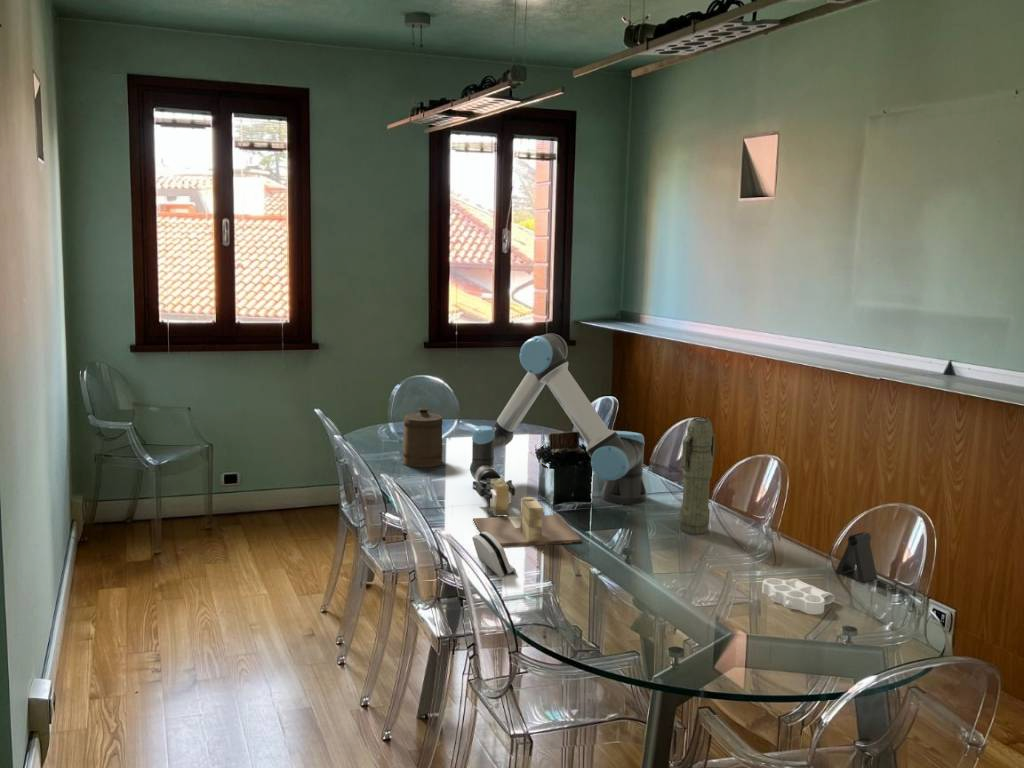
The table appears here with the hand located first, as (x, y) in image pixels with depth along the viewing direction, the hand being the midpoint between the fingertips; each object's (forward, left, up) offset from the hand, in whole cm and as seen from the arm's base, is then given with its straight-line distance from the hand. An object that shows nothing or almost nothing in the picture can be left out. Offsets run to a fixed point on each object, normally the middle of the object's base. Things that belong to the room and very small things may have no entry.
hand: (502, 499), depth 305 cm
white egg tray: (-60, +77, -7) cm, 97 cm away
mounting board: (-4, +15, -6) cm, 16 cm away
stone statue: (-56, +21, -6) cm, 60 cm away
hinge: (+12, +41, -6) cm, 43 cm away
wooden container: (+16, -70, -6) cm, 72 cm away
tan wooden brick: (0, -5, -6) cm, 8 cm away
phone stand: (-85, +64, -6) cm, 106 cm away
